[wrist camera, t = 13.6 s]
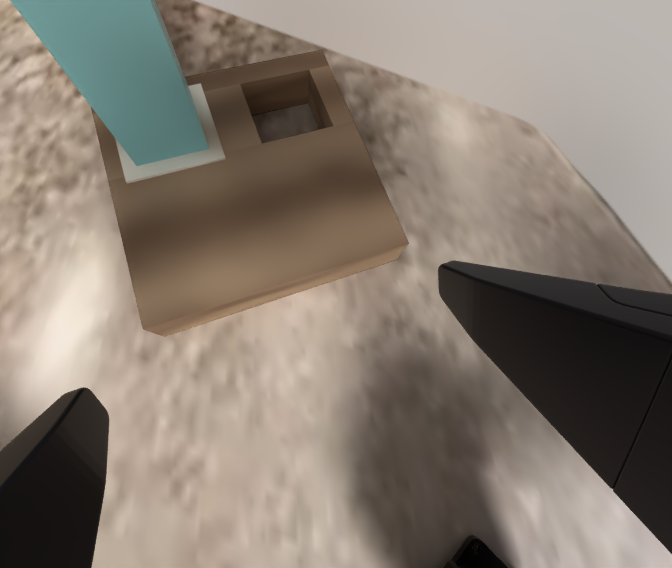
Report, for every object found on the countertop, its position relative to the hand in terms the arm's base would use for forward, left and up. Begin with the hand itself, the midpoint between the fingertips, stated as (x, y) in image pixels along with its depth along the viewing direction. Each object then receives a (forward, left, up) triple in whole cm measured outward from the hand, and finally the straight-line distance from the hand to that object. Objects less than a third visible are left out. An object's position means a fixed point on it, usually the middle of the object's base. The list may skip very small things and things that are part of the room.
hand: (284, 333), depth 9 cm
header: (+11, -6, -14) cm, 18 cm away
